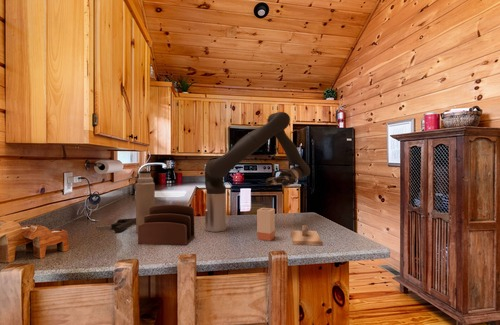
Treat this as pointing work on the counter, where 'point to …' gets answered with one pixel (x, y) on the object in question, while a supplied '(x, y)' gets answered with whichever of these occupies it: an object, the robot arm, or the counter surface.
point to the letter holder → (167, 225)
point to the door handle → (119, 225)
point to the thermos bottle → (144, 196)
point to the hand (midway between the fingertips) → (274, 183)
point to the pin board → (305, 237)
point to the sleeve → (266, 224)
